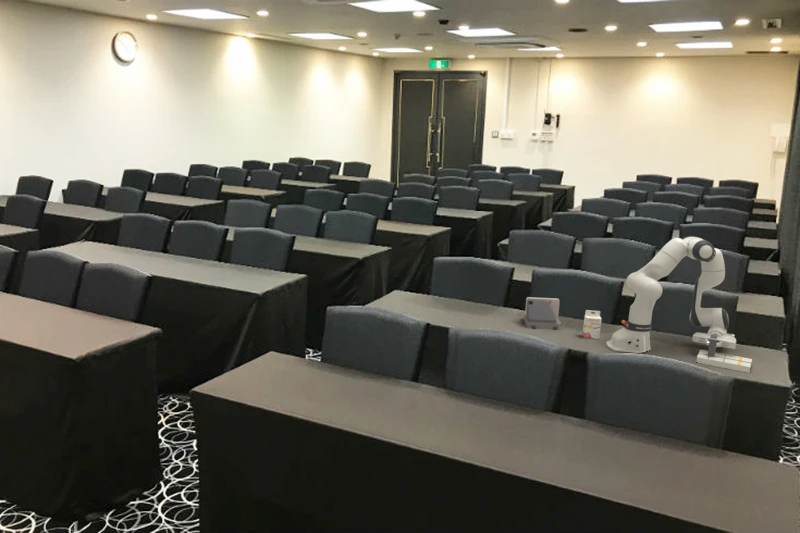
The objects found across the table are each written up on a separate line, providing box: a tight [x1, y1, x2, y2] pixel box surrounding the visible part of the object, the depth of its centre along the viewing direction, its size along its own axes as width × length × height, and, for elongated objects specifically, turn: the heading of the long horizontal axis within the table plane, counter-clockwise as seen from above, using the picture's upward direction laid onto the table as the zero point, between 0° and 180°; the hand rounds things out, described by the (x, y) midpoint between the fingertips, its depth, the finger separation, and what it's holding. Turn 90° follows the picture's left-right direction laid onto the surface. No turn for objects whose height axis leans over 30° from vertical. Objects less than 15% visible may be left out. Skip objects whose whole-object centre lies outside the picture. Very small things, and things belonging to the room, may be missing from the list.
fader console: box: [695, 348, 753, 374], centre depth 344 cm, size 24×14×3 cm, turn 60°
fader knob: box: [707, 335, 718, 357], centre depth 345 cm, size 3×4×12 cm
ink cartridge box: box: [582, 309, 603, 340], centre depth 376 cm, size 9×5×15 cm, turn 84°
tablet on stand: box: [523, 296, 562, 331], centre depth 396 cm, size 21×21×15 cm
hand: (712, 344), depth 344 cm, fingers closed on fader knob, 3 cm apart
